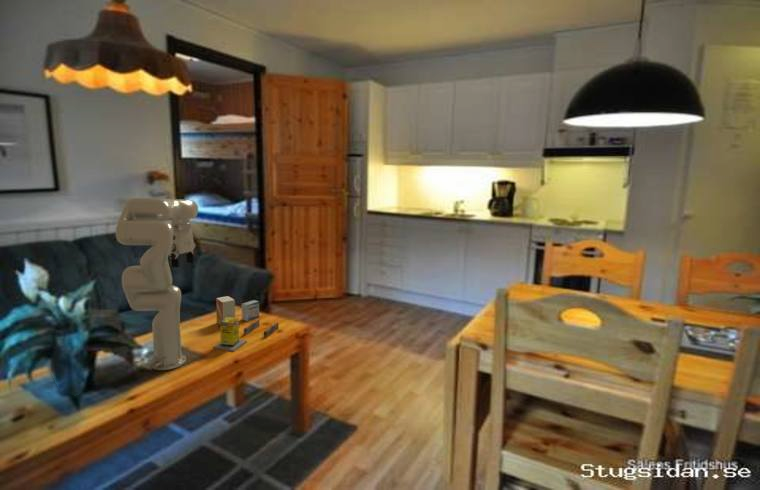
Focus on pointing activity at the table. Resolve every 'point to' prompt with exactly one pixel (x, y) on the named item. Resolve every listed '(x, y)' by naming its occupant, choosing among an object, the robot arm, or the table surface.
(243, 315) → the medicine box
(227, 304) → the small box
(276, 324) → the divider rack
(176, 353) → the robot arm
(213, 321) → the table surface
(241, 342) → the grey tile
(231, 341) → the supplement box
